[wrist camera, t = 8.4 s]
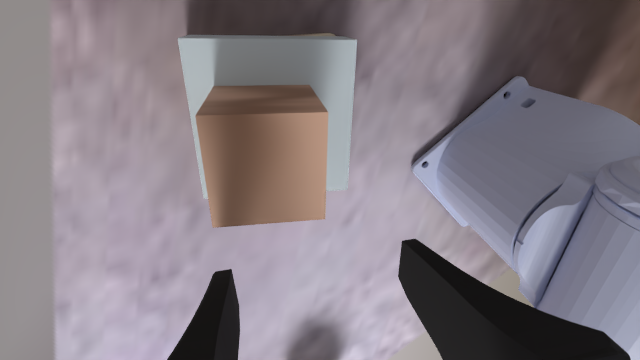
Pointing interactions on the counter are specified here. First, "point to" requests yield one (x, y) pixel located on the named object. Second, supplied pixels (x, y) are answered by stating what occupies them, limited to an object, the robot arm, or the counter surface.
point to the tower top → (278, 80)
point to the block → (264, 154)
